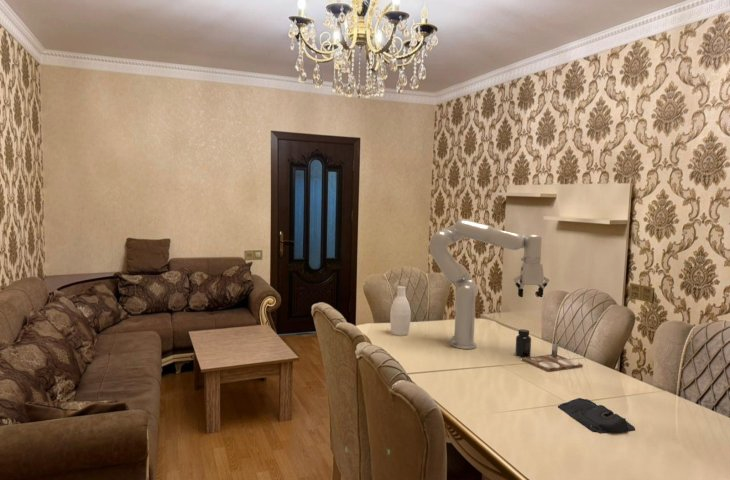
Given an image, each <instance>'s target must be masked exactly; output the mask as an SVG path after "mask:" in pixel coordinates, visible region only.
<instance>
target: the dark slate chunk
mask: <svg viewBox="0 0 730 480" xmlns="http://www.w3.org/2000/svg"><path fill="white" fill-rule="evenodd" d="M557 408H558V409H559V410H560V411H562V412H564V414H566V415H568V416H569V417H570V418H572V419H573V420H575V421H576V422H577V423H579V424H581V425H582V426H583V427H584V428H586V429H588V430H589V431H590V432H593V433H598V434H600V435H601V434H624V433H628V432H632V431H635V430H636V427H635V426H634V425H632V424H631V423H630V422H628V421H627V419H626V417H623V416H620V415H619V414H617V413H614V411H613V410H611V409H610V408H608V407H606V406H604V405H602V404H596V403H595V402H594V401H592V400H590V399H588V398H582V397H577V398H574V399H571V400H569V401H568V402H563V403H560V404H558V405H557Z"/></svg>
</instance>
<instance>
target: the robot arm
mask: <svg viewBox="0 0 730 480" xmlns="http://www.w3.org/2000/svg"><path fill="white" fill-rule="evenodd" d="M464 238H467V239H471V240H475V241H478V242H482V243H486V244H488V245H489V244H490V245H494V246H496V247H501V248H504V249H508V250H511V251H518V250H519V249H523V256H522V258H520V261H521V262H522V264H521V267H520V271H519V272H520V273H519V275H518V276H516V277H514V278H513V279H512V281H513V282H514V285H515V286H516V287H517V295H518V297H520V298H523V297H524V287H525V286H538V289H537V297H539V298H543V296H544V289H545V287H547V286H548V284H549V282H550V278H547V277H545V276H544V266H543V264H542V263H541V262H542V261H541V259H542V257H541V256H542V241H543V240H542V239H543V238H542V236H541V235H540V234H531V233H530V234H524V233H523V234H522V233H519V232H518V233H516V232H515V233H513V232H509V231H504V230H502V229H497V228H495V226H494V227H493V226H492V225H489V224H485V223H482V222H477V221H473V220H469V219H467V218H461V219H458V220H457V221H456V222H455V223H454V224H453V225H451V226H449V227H447V228H445V229H441V230H438V231H436V232H435V233H434V234H433V235H432V236H431V239H430V240H429V245H428V246H429V252H430V255H431V257H432V259H433V260H434V261H435V263H436V265H437V266H438V268H439V269H440V271H441V272H442V274H443V275H444V278H445V279H446V281H448V283H451V284H454V286H455V287H456V289H455V294H454V295H455V300H454V301H455V309H454V311H455V312H454V315H455V316H454V335H452V337H451V338H445V343H446V344H447V343H448V344H449V343H450V345H451V347H454V348H457V349H463V350H472V349H475V348H477V343H475V342H474V339H475V321H476V320H475V318H476V297H477V295H478V294H479V286H478V285H477V282H475V280H474V278H473V276H472V275H471V274H470V273H469V271H468V269H467V268H466V267H465V266H464V265H463V264H462V263H459V262H457V261H456V260H455V258H454V257H453V255H452V254H451V252H450V251H449V250H448V248H447V247H448V246H451V245H453V244H454V243H457V242H459V241H461V240H462V239H464Z"/></svg>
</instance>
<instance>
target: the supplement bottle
mask: <svg viewBox="0 0 730 480" xmlns="http://www.w3.org/2000/svg"><path fill="white" fill-rule="evenodd" d="M517 334H518V335H516V337H515V353H514V354H515V355H516V356H517V357H520V358H525V357H531V353H532V338H531V336H530V330H528V329H521V328H520V329H518V333H517Z"/></svg>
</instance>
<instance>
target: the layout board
mask: <svg viewBox="0 0 730 480" xmlns="http://www.w3.org/2000/svg"><path fill="white" fill-rule="evenodd" d="M551 346H552V347H551V354H545V355H534V356H530V357H521V361H523V362H524V363H527V364H529V365H531V366H534V367H536V368H538V369H540V370H543V371H545V372H556V371H563V370H565V371H566V370H572V369H578V368H583V363H580V362H577V361H574V360H572V359H569V358H567V357H564V356H561V355H559V354H558V350H559V349H558V348H559V344H558V343H552V344H551Z"/></svg>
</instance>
